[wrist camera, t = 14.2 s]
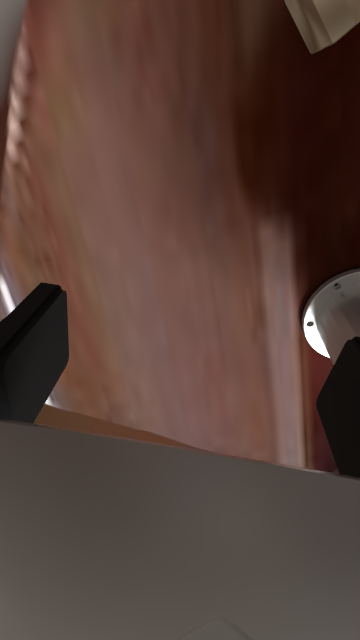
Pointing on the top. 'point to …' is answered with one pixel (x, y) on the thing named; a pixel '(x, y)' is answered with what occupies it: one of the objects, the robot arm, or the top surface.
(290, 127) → the top surface
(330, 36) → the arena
